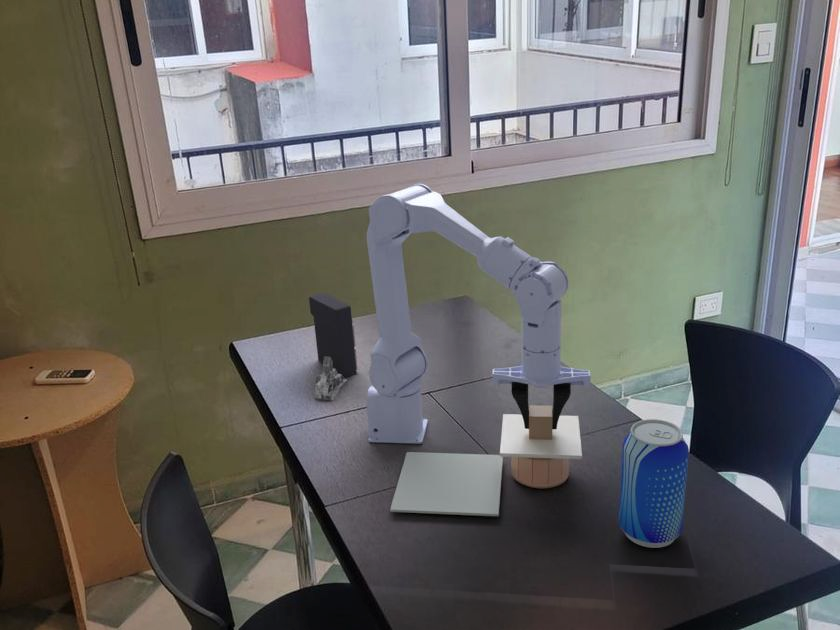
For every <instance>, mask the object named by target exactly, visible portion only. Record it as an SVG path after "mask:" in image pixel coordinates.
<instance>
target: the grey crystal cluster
mask: <svg viewBox="0 0 840 630" xmlns="http://www.w3.org/2000/svg"><path fill="white" fill-rule="evenodd" d="M332 363H333V362H332V360H331V358H330V357H325V356H324V361H323V363H322V366H323V373H322V374H320V375H317V374H316V375H315V374H314V375H315V377H314V383H313V385H314V388H315V389H314V390H315V392H314V394H313V395H314V399H317V400H327V401H333V399H335V397H336V396H337V395H338V394H339V393H341V391H342V389H344V388H345V387H346V386H347V385H348V379H347V378H345V377H343V376H342V374H338V373H337V371H336V369H333V367H332Z"/></svg>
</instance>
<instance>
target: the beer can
mask: <svg viewBox="0 0 840 630" xmlns="http://www.w3.org/2000/svg"><path fill="white" fill-rule="evenodd" d="M683 433H684V432H683V431H682V429H681V428H680V427H679V426H678V425H676V424H674V423H673V422H670V421H667V420H663V419H653V418H652V419H651V418H650V419H649V418H648V419H642V420H640V421H637V422H635V423H633V424H632V426H631V428H630V431H629V433H628V434H627V435H626V437H625V438H624V439H623V442H622V451H621V452H622V454H621V471H620V472H621V473H620V487H619V488H620V490H619V491H620V493H619V509H618V524H619V527H620V529H621V530H622V532H623V533H624V534H625V536H626V537H627V538H628V539H629V541H631V542H633V543H634V544H636V545H638V546H642V547H646V548H650V549H651V548H653V549H655V548H663V547H667V546H669V545H671V544H672V543H674V541H675V540H676V539H677V538H678V537H680V535H681V534H682V532H683V524H684V523H683V521H684V513H685V512H684V511H685V502H686V501H685V499H686V488H687V478H688V477H687V476H688V468H689V466H688V465H689V456H690V454H689V453H690V448H689V445H688V444H687V442H686V439H684V434H683Z"/></svg>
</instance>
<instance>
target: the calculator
mask: <svg viewBox="0 0 840 630" xmlns="http://www.w3.org/2000/svg"><path fill="white" fill-rule="evenodd" d="M308 301H309V310H310V311H309V312H310V314H311V315H312V316H313V323H314V332H315V333H314V334H315V342H316V350H317V351H316V353H317V361H318V362H320V363H321V364H323V361H324V356H325V357H330V358H331V360H332V362H333V363H332V367H333V369H336V371H337V373H338V374H342V376H343V378H346V377H350V376H352V375H354V374H357V373H358V372H357V370H358V356H357V350H356V348H355V347H356V336H355V326H354V325H353V324H354V321H353V312H352V306H351V305H349V304H347V303H345V302H343V301H341V300H339V299H337V298H335V297H334V296H331V295H329V294H327V293H325V292H322V293H319V294H315V295H311V296H309V298H308Z"/></svg>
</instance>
